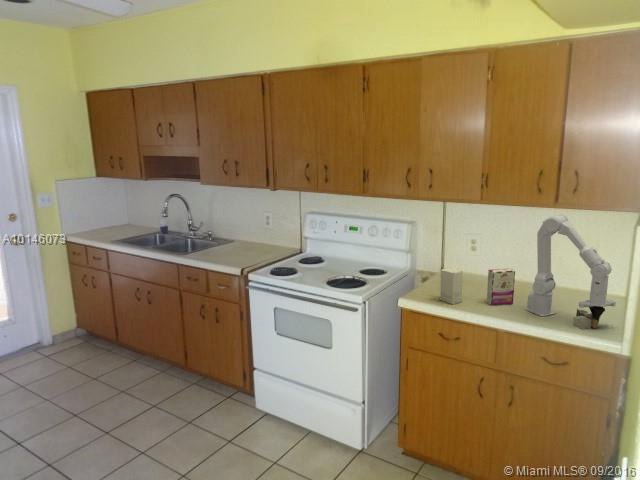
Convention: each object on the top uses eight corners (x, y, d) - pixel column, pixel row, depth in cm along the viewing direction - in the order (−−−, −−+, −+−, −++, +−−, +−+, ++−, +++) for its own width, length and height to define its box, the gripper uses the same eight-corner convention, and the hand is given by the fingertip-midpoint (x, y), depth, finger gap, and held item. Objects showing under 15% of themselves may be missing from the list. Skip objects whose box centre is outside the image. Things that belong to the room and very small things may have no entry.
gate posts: (575, 319, 198) (576, 312, 197) (585, 317, 200) (585, 310, 199) (585, 323, 194) (585, 316, 193) (594, 321, 196) (595, 314, 196)
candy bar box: (507, 300, 222) (510, 267, 218) (513, 304, 217) (516, 270, 214) (485, 302, 220) (488, 269, 217) (491, 305, 215) (493, 272, 212)
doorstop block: (573, 324, 193) (574, 316, 192) (582, 323, 194) (583, 315, 193) (581, 328, 189) (582, 320, 188) (590, 327, 190) (591, 319, 189)
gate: (574, 316, 200) (575, 308, 199) (581, 316, 200) (582, 308, 200) (591, 327, 188) (592, 319, 187) (598, 327, 188) (599, 319, 187)
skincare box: (461, 302, 220) (463, 271, 217) (451, 305, 217) (453, 273, 214) (448, 297, 227) (450, 266, 224) (439, 299, 224) (440, 268, 221)
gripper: (587, 295, 183) (584, 327, 186) (622, 294, 184) (618, 326, 187) (576, 290, 190) (573, 321, 193) (610, 288, 191) (606, 319, 194)
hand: (594, 323), depth 190 cm, fingers closed, pressing on gate
